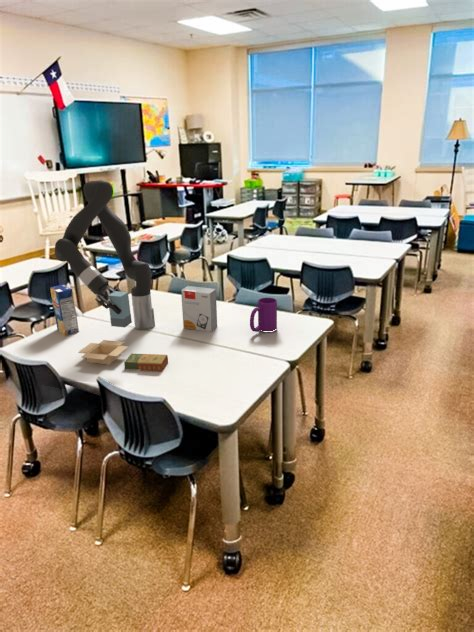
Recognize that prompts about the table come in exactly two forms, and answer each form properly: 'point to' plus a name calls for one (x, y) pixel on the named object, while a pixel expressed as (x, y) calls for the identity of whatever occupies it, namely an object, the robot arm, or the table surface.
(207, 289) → the hard drive box
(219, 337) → the table surface
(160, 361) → the carton
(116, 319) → the slate box
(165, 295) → the table surface
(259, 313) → the mug
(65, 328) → the beverage box
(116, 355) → the kraft carton
